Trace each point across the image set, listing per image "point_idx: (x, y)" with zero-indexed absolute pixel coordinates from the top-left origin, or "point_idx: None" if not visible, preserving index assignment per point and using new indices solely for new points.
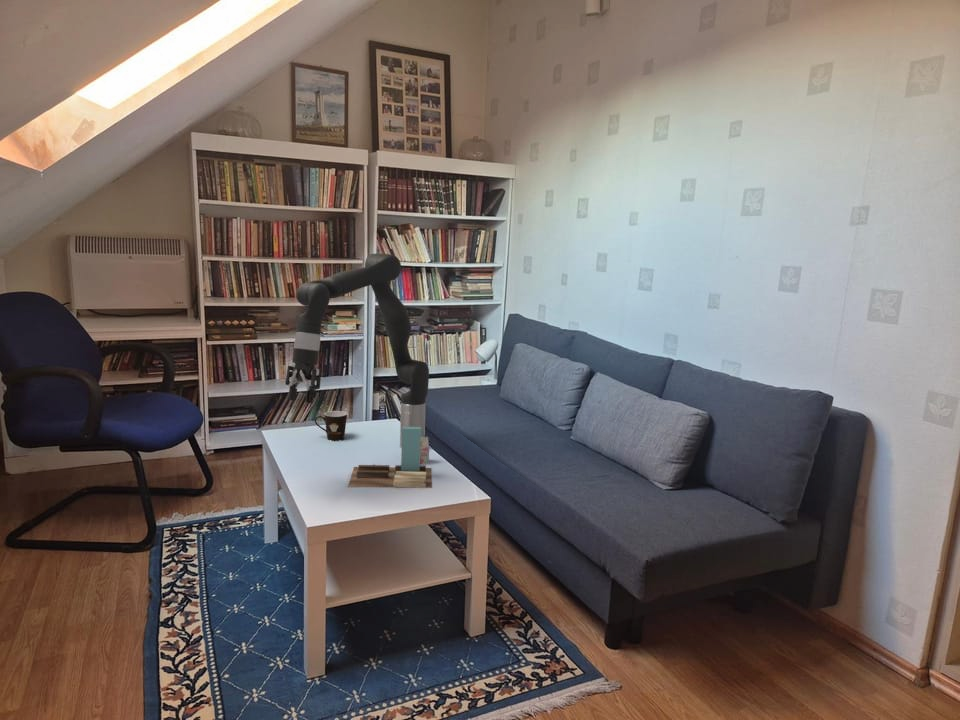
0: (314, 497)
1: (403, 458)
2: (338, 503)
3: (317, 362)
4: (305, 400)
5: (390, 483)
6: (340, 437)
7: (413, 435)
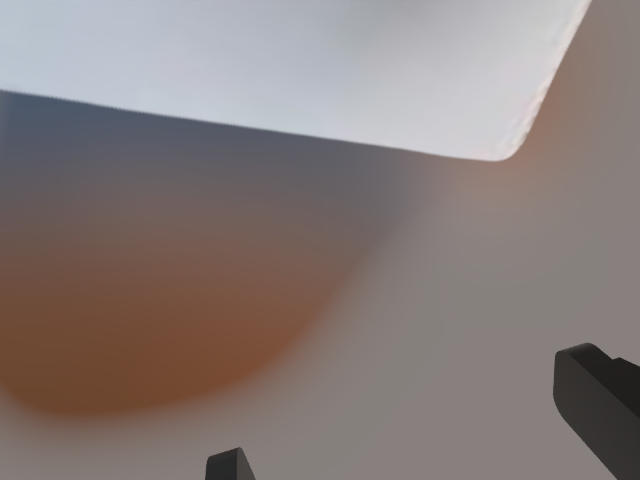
0: (359, 91)
1: None
2: (452, 36)
3: None
4: (575, 426)
5: None
6: None
7: None
